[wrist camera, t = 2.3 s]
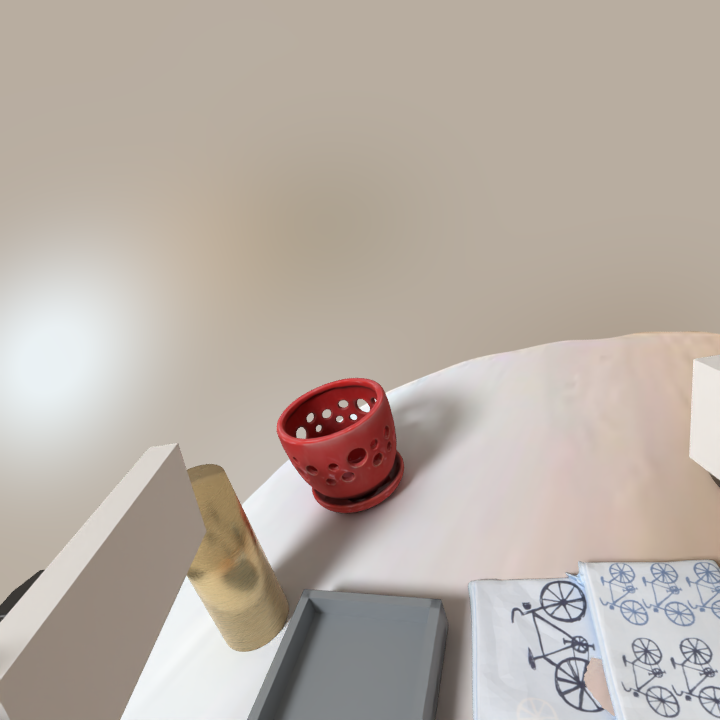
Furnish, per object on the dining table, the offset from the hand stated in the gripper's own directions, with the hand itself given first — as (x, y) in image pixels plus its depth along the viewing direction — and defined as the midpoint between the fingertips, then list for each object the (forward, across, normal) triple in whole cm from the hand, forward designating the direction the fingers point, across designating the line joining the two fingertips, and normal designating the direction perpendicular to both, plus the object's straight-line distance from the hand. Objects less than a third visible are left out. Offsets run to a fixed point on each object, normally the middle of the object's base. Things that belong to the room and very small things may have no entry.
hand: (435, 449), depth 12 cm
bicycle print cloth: (+13, +11, -28) cm, 33 cm away
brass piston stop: (+25, -17, -29) cm, 42 cm away
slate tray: (+14, -8, -29) cm, 34 cm away
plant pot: (+40, -6, -27) cm, 49 cm away
